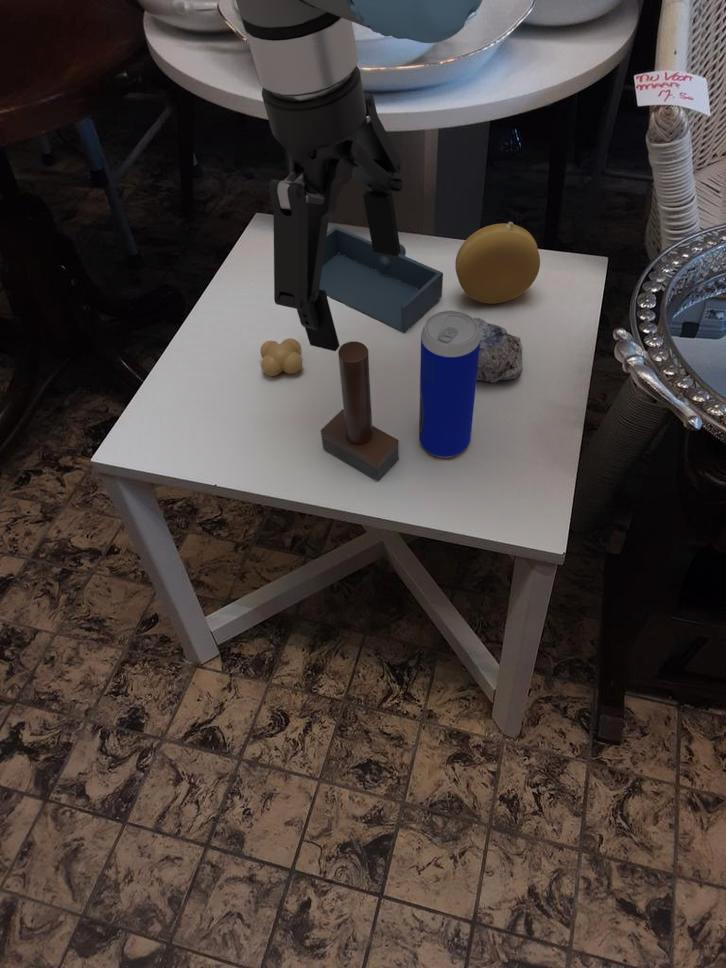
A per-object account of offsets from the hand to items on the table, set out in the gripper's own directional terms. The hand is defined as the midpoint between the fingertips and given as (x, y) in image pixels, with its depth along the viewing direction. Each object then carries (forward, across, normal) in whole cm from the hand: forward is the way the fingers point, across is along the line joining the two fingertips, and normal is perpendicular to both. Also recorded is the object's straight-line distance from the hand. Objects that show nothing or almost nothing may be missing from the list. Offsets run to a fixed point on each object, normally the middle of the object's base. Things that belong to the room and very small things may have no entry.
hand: (357, 297), depth 74 cm
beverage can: (+13, +5, +10) cm, 17 cm away
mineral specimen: (+14, -7, +9) cm, 18 cm away
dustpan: (+12, -15, -7) cm, 21 cm away
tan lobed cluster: (+11, +2, -11) cm, 15 cm away
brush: (+12, +10, +3) cm, 15 cm away
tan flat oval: (+14, -18, +7) cm, 24 cm away
